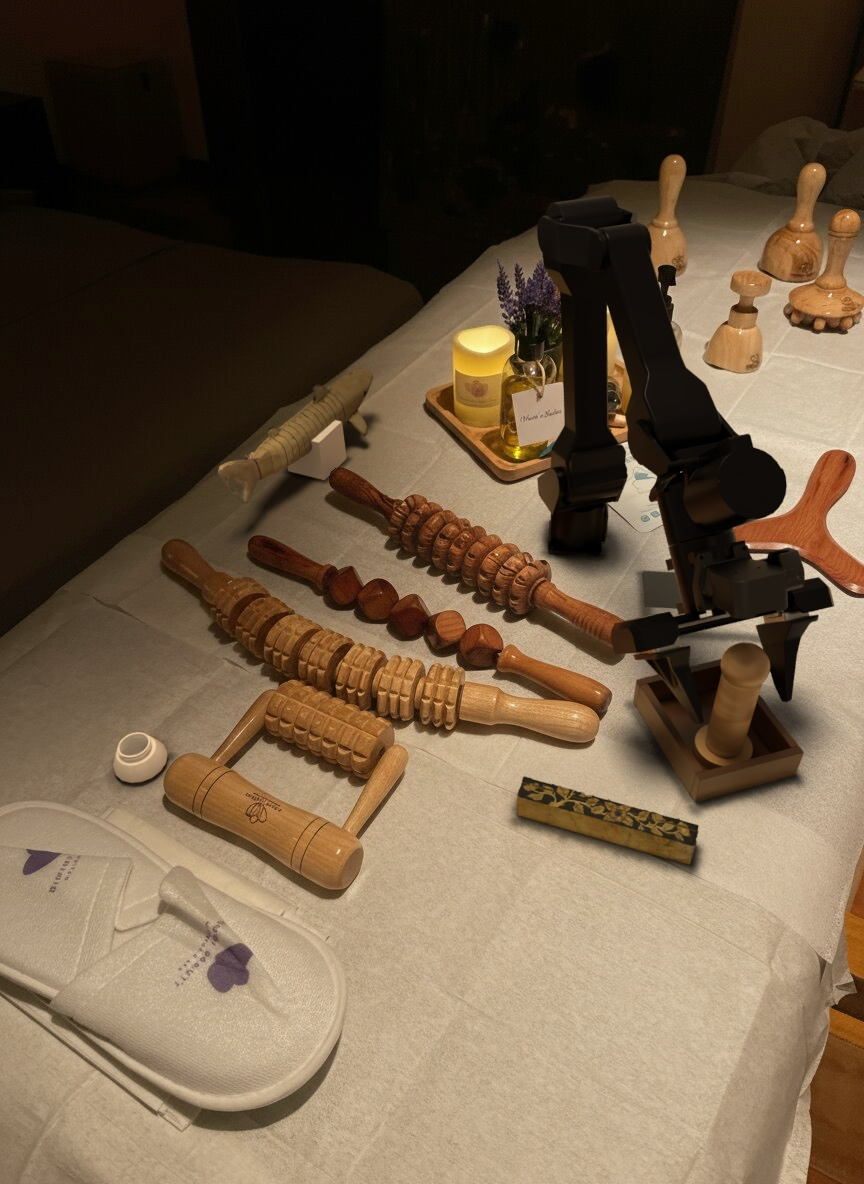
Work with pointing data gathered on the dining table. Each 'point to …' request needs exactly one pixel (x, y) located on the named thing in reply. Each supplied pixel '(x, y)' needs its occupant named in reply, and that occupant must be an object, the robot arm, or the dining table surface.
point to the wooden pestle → (733, 707)
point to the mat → (661, 590)
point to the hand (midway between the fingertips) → (743, 712)
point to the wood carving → (305, 437)
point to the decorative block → (607, 820)
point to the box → (677, 730)
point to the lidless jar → (139, 758)
